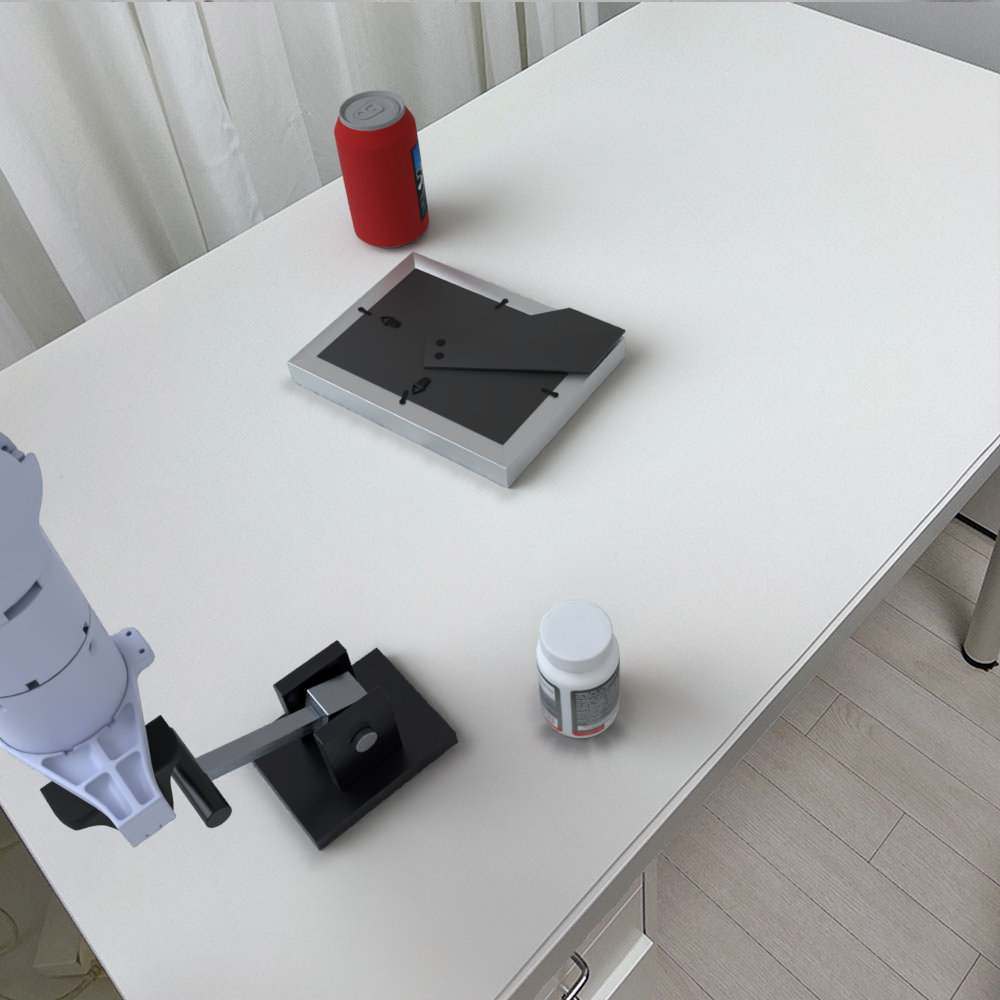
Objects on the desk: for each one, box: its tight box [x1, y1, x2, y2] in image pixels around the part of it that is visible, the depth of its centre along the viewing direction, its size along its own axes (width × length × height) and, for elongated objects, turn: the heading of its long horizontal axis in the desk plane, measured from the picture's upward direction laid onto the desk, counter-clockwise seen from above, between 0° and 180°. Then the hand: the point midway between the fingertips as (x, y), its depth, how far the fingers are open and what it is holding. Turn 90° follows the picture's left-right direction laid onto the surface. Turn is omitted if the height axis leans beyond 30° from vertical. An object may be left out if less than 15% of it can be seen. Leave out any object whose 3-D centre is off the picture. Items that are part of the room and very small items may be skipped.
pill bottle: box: [535, 599, 621, 739], centre depth 63 cm, size 5×5×8 cm
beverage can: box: [333, 90, 430, 249], centre depth 93 cm, size 7×7×12 cm
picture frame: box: [286, 251, 626, 489], centre depth 85 cm, size 16×3×21 cm
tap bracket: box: [251, 639, 459, 852], centre depth 63 cm, size 10×8×7 cm
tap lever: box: [170, 671, 367, 829], centre depth 59 cm, size 11×6×2 cm, turn 130°
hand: (130, 787), depth 54 cm, fingers open, 4 cm apart
